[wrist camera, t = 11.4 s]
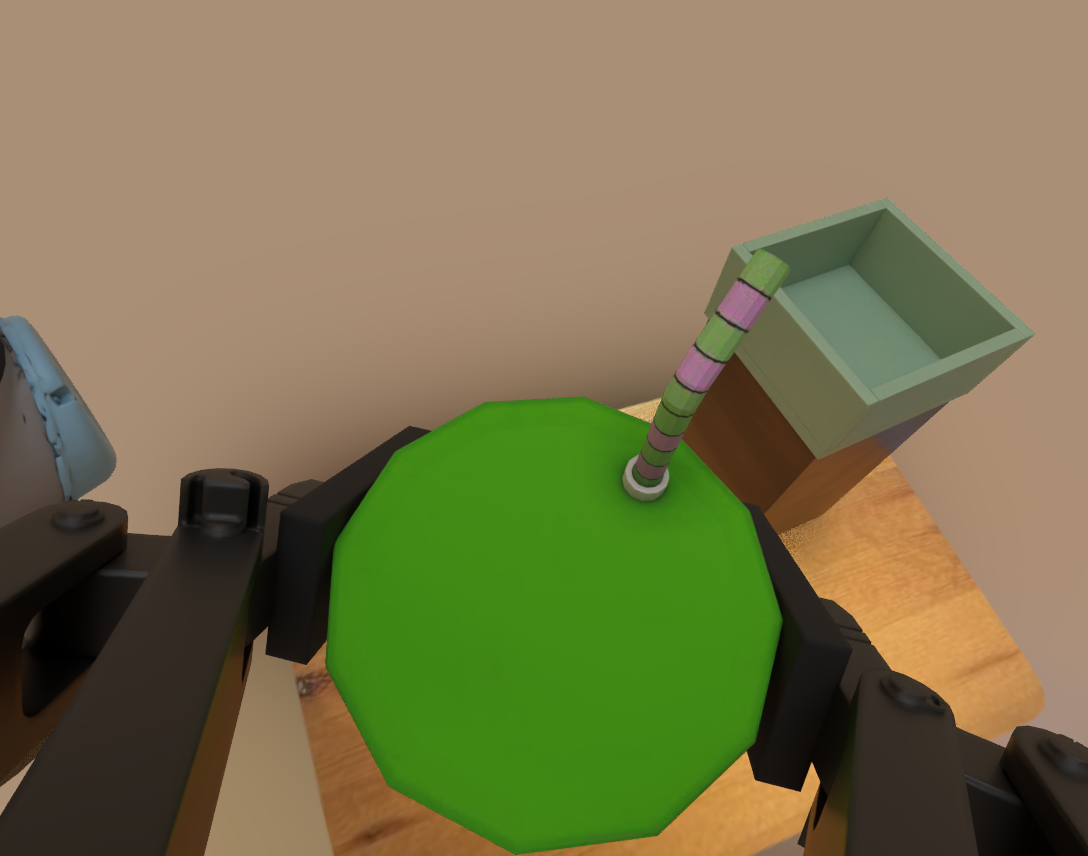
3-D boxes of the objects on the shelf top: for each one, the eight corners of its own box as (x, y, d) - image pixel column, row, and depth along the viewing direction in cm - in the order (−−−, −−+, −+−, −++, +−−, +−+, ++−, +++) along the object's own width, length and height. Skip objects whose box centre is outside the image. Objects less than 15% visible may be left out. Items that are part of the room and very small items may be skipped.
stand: (718, 563, 54) (818, 454, 37) (649, 454, 60) (709, 314, 43) (824, 512, 58) (961, 390, 40) (750, 413, 63) (843, 268, 46)
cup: (437, 876, 17) (231, 1118, 4) (382, 600, 20) (185, 259, 8) (695, 772, 18) (1145, 701, 6) (601, 535, 22) (740, 166, 9)
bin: (817, 460, 37) (868, 405, 32) (703, 313, 43) (731, 246, 38) (968, 393, 40) (1036, 333, 35) (844, 264, 46) (887, 197, 41)
